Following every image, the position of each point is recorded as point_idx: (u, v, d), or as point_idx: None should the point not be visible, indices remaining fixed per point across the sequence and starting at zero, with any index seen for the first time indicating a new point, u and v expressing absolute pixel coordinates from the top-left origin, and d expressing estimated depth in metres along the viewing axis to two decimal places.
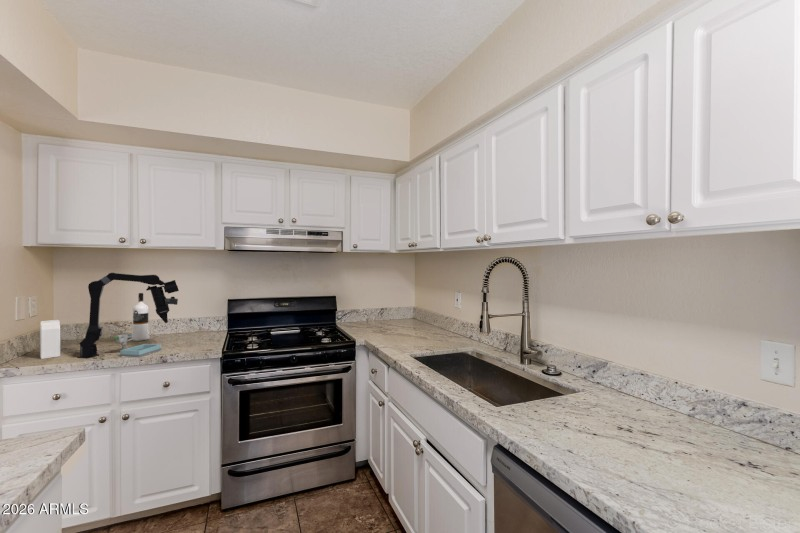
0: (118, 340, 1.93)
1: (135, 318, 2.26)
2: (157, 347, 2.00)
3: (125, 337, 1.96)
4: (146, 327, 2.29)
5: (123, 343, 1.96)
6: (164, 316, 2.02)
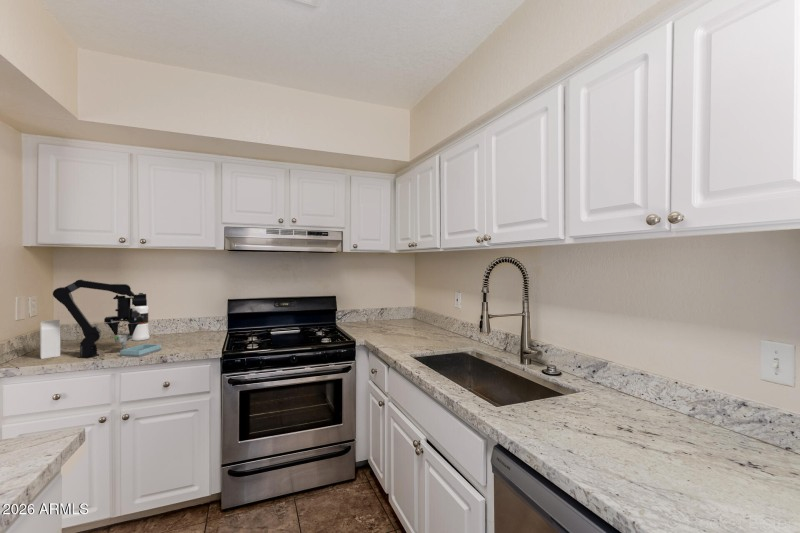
0: (118, 340, 1.93)
1: None
2: (157, 347, 2.00)
3: (125, 337, 1.96)
4: (146, 327, 2.29)
5: (123, 343, 1.96)
6: (133, 328, 1.96)
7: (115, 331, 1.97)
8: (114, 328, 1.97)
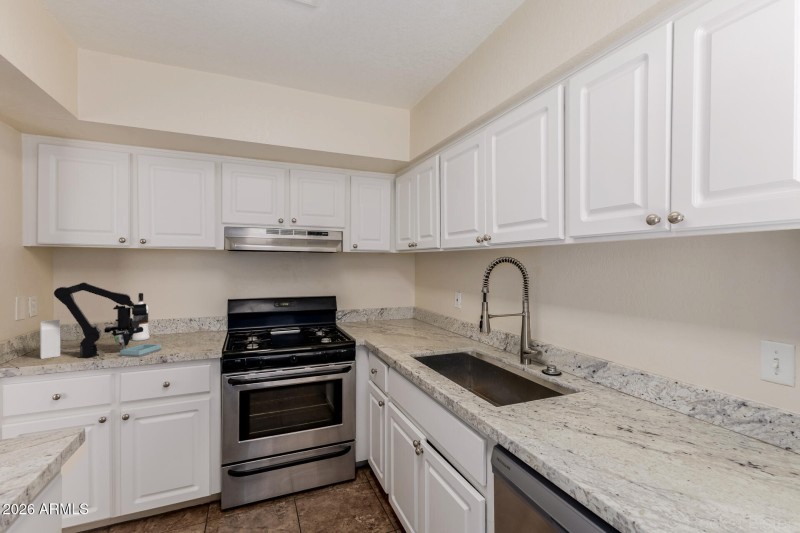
0: (118, 340, 1.93)
1: (135, 318, 2.26)
2: (157, 347, 2.00)
3: None
4: (146, 327, 2.29)
5: (123, 343, 1.96)
6: (128, 338, 1.97)
7: None
8: None
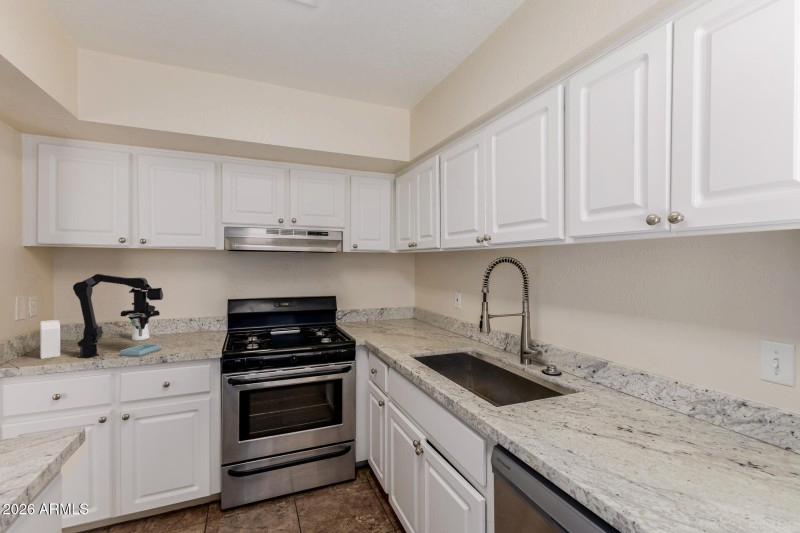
0: (135, 323, 1.92)
1: None
2: (157, 347, 2.00)
3: None
4: (146, 327, 2.29)
5: (140, 327, 1.95)
6: (144, 321, 1.96)
7: None
8: None
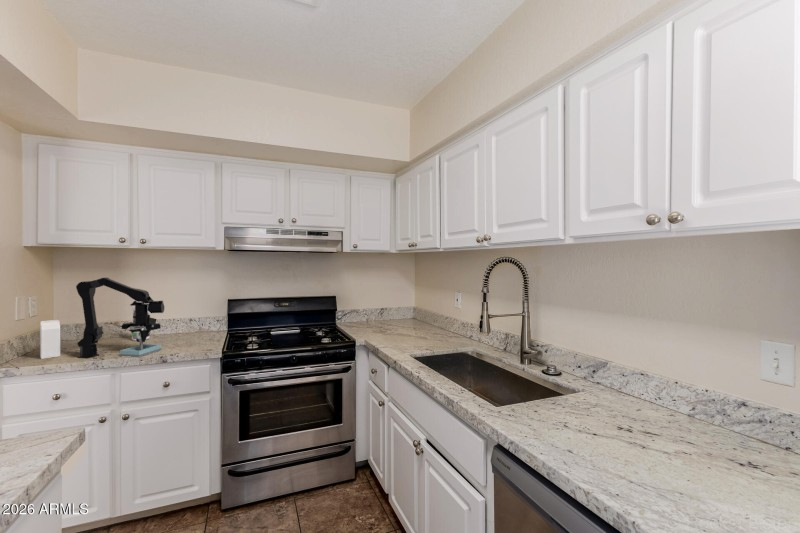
0: (136, 336, 1.92)
1: None
2: (157, 347, 2.00)
3: None
4: None
5: (140, 340, 1.95)
6: (145, 334, 1.96)
7: None
8: None
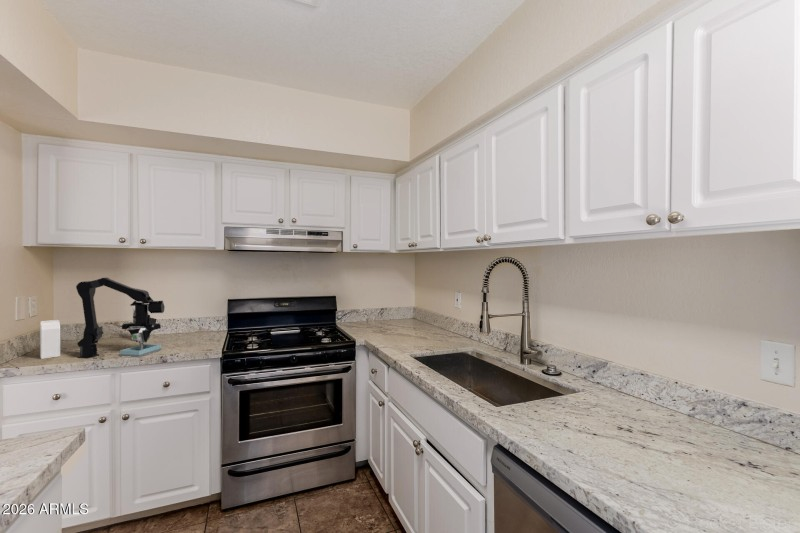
0: (136, 338, 1.92)
1: None
2: (157, 347, 2.00)
3: (142, 335, 1.95)
4: None
5: (140, 341, 1.95)
6: (147, 334, 1.95)
7: None
8: None
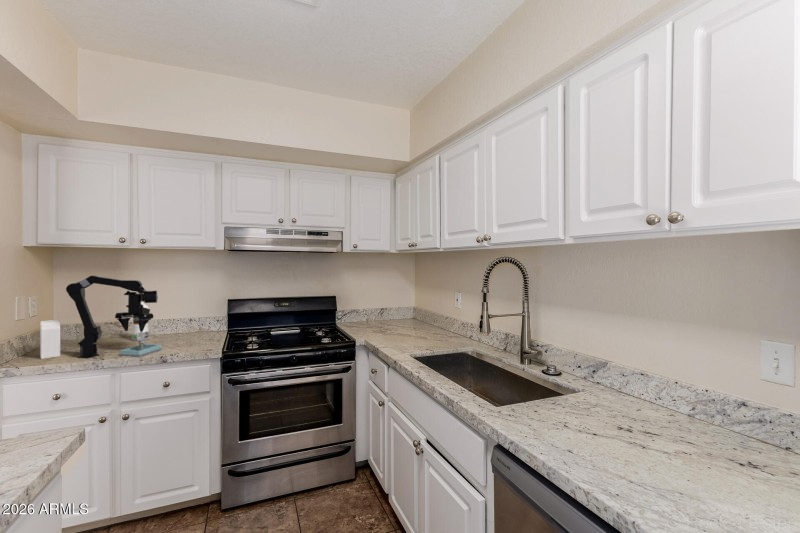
0: (136, 338, 1.92)
1: (135, 318, 2.26)
2: (157, 347, 2.00)
3: (142, 335, 1.95)
4: (146, 327, 2.29)
5: (140, 341, 1.95)
6: (143, 324, 1.96)
7: (125, 327, 1.97)
8: (125, 324, 1.97)
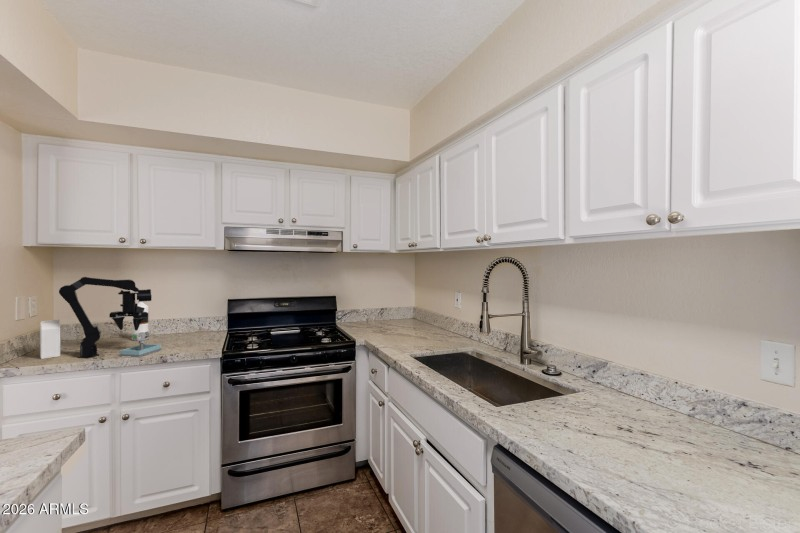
0: (136, 338, 1.92)
1: None
2: (157, 347, 2.00)
3: (142, 335, 1.95)
4: (146, 327, 2.29)
5: (140, 341, 1.95)
6: (138, 323, 1.98)
7: (120, 326, 1.99)
8: (119, 323, 1.98)
